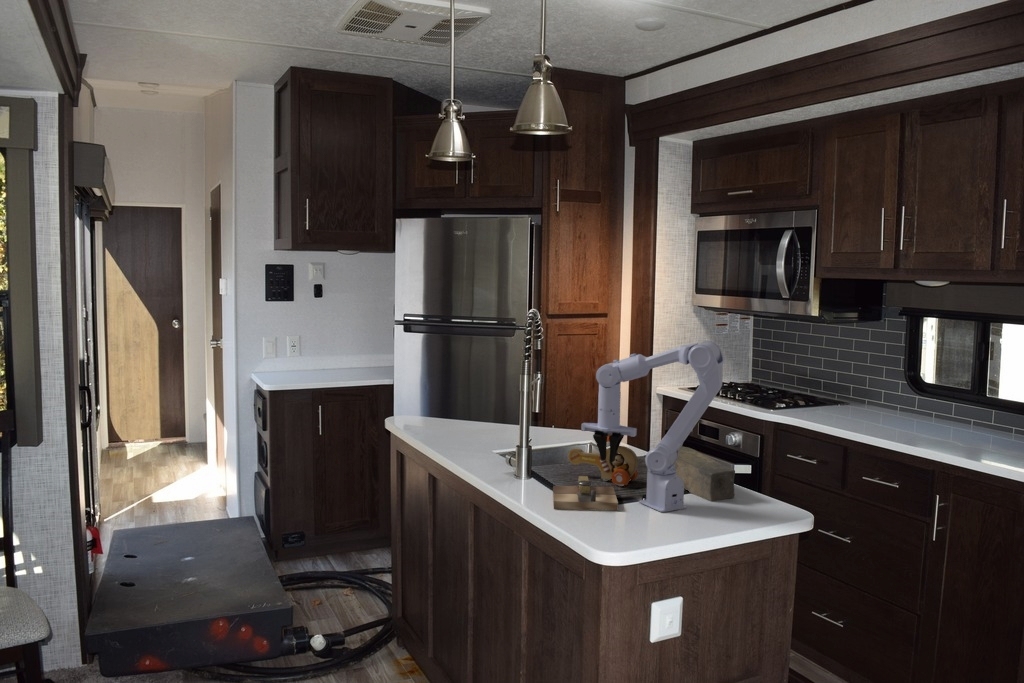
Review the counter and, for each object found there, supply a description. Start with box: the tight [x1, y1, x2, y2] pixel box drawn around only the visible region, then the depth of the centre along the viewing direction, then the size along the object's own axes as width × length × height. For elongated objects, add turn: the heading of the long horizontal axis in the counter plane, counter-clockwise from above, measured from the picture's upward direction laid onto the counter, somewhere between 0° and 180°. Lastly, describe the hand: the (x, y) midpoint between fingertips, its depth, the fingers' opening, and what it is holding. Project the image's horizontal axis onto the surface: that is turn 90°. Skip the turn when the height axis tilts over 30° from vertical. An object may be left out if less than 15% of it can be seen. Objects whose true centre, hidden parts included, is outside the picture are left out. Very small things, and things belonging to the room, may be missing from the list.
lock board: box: [552, 485, 619, 512], centre depth 214 cm, size 16×14×5 cm
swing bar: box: [578, 475, 592, 493], centre depth 217 cm, size 10×3×3 cm, turn 178°
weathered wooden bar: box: [674, 446, 736, 503], centre depth 228 cm, size 10×26×10 cm, turn 26°
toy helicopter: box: [567, 435, 639, 486], centre depth 233 cm, size 8×21×14 cm, turn 60°
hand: (607, 460), depth 217 cm, fingers closed
